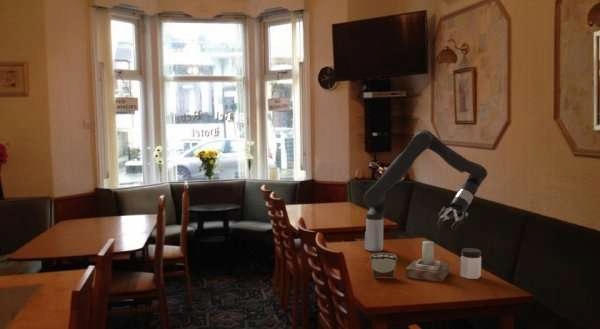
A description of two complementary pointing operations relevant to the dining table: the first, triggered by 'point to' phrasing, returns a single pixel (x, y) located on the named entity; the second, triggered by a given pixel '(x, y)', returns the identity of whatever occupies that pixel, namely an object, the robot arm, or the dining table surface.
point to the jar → (471, 263)
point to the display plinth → (427, 271)
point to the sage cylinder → (428, 253)
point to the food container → (383, 265)
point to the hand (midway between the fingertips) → (445, 227)
